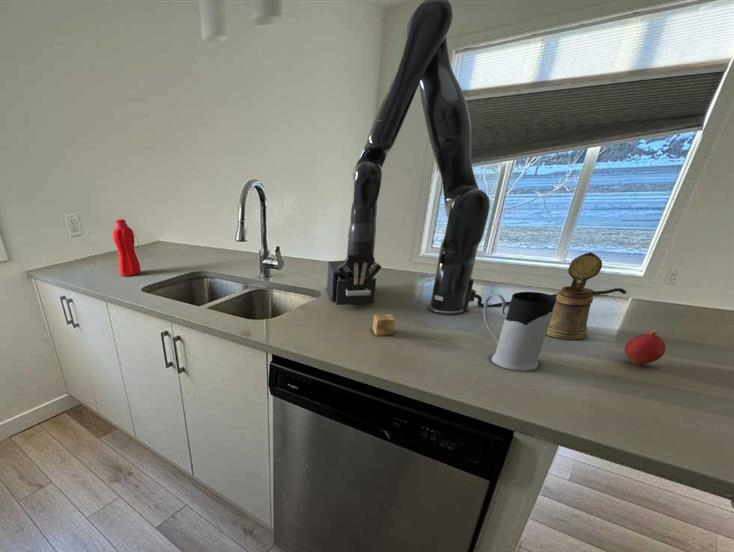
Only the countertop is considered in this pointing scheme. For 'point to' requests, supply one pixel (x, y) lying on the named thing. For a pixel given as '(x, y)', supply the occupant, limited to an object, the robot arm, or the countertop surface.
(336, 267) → the small drawer cabinet
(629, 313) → the countertop surface
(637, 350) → the onion
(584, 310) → the wooden mug
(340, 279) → the dark grey drawer
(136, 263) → the water bottle
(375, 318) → the block
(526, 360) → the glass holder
